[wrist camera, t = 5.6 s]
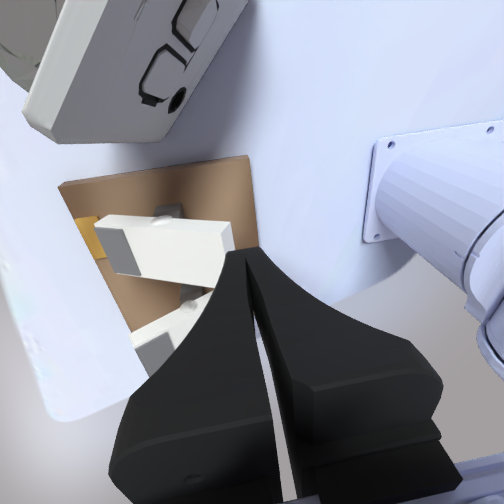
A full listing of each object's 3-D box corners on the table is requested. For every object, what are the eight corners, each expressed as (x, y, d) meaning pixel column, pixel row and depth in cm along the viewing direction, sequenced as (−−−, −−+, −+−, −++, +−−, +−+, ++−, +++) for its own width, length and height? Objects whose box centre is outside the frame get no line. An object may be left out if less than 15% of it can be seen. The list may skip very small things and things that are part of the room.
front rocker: (232, 219, 14) (219, 235, 13) (241, 273, 16) (230, 292, 15) (112, 212, 17) (91, 224, 16) (132, 260, 19) (115, 275, 18)
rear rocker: (233, 276, 21) (246, 287, 20) (240, 311, 23) (251, 322, 22) (126, 331, 17) (134, 348, 16) (145, 366, 19) (152, 383, 18)
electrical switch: (162, 142, 17) (100, 181, 9) (78, 80, 15) (-98, 57, 7) (260, -16, 14) (302, -183, 6) (167, -118, 12) (36, -576, 4)
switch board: (247, 154, 18) (254, 167, 15) (264, 304, 25) (270, 329, 23) (64, 181, 17) (40, 199, 15) (135, 327, 24) (127, 356, 22)
